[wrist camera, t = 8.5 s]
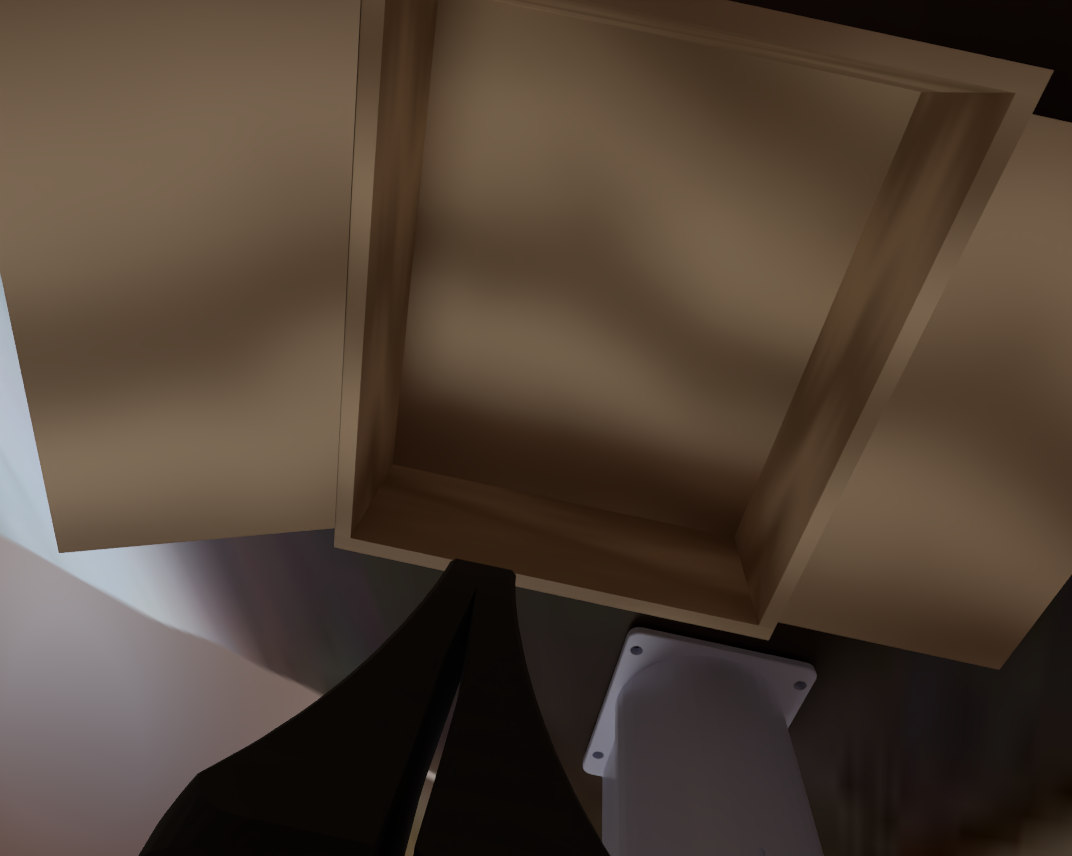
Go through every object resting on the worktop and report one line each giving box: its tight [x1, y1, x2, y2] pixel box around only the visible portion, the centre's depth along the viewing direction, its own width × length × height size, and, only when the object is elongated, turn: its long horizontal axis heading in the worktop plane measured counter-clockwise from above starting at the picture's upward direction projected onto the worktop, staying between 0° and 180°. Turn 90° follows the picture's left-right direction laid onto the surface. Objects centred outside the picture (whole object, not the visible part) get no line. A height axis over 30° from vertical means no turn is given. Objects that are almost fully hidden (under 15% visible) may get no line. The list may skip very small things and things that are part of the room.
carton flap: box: [0, 0, 361, 553], centre depth 15 cm, size 14×7×1 cm, turn 169°
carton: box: [334, 0, 1072, 669], centre depth 19 cm, size 16×21×5 cm
